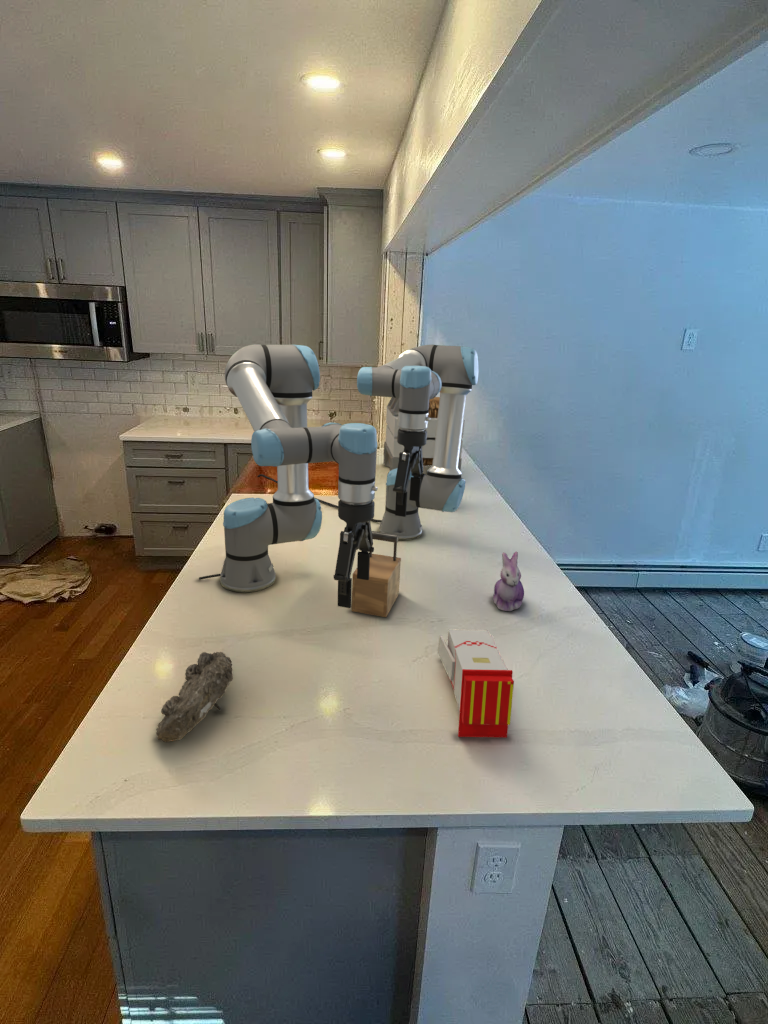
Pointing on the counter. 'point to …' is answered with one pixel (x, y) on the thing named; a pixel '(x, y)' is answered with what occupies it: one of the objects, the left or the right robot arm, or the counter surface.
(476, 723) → the toy
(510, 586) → the figurine
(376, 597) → the chest
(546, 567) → the counter surface
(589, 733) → the counter surface
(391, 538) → the lid
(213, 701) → the fossil
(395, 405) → the white slatted crate
